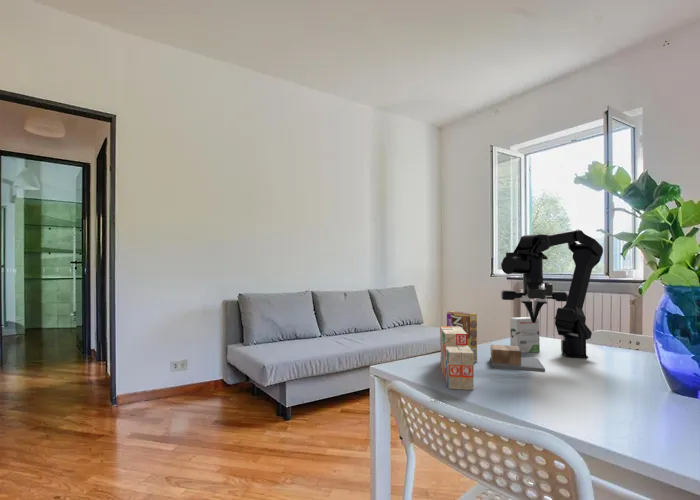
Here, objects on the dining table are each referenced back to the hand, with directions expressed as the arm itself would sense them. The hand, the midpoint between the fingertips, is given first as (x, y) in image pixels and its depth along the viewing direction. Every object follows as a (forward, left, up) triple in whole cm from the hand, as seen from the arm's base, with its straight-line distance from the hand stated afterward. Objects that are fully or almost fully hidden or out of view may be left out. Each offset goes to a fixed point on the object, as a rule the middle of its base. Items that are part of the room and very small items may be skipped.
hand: (533, 322), depth 122 cm
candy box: (+22, +6, -12) cm, 26 cm away
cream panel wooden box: (+5, +6, -9) cm, 12 cm away
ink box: (+1, -13, -12) cm, 18 cm away
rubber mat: (+6, +6, -12) cm, 15 cm away
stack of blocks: (+23, +24, -12) cm, 36 cm away
